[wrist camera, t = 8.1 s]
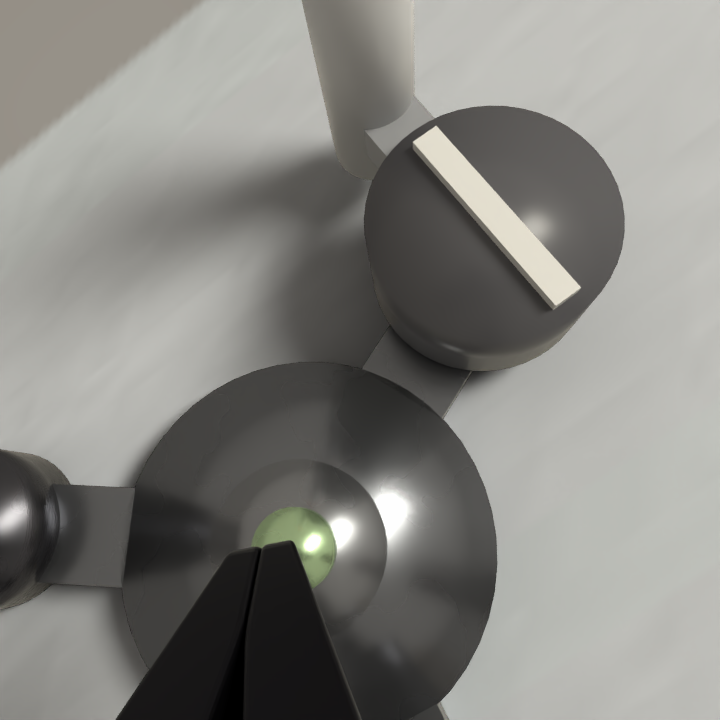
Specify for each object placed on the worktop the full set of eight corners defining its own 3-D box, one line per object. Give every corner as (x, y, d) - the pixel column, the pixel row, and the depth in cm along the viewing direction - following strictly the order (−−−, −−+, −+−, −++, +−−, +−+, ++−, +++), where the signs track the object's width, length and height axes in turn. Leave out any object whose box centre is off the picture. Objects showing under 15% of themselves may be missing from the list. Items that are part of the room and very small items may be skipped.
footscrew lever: (635, 285, 17) (977, -70, 7) (460, 415, 16) (533, 251, 6) (426, 58, 19) (437, -464, 9) (267, 167, 19) (87, -252, 8)
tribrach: (490, 1072, 14) (507, 1194, 12) (-95, 547, 18) (-176, 553, 16) (845, 421, 17) (921, 406, 14) (265, 93, 21) (244, 36, 18)
